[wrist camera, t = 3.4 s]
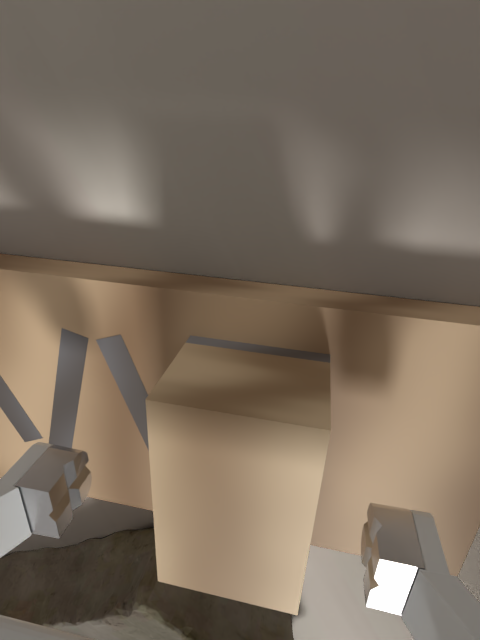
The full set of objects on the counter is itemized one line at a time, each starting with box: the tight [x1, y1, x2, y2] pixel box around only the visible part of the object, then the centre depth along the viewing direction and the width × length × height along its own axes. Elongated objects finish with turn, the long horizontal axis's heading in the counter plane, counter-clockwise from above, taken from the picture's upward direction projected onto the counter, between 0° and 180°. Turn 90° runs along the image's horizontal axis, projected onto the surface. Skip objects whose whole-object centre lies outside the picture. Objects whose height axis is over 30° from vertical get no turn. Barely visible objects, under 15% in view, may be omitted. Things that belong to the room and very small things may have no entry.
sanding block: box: [145, 335, 331, 615], centre depth 12 cm, size 4×7×4 cm, turn 178°
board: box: [0, 254, 480, 576], centre depth 15 cm, size 24×10×2 cm, turn 88°
